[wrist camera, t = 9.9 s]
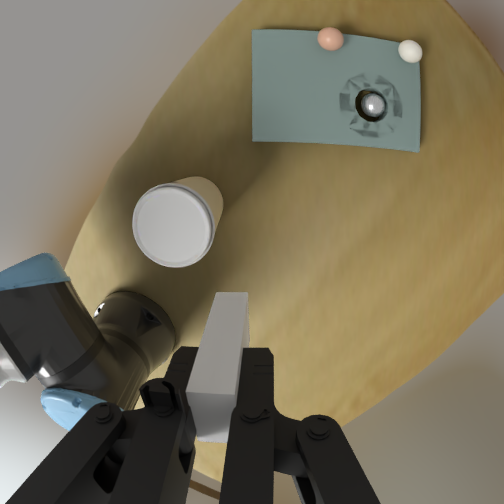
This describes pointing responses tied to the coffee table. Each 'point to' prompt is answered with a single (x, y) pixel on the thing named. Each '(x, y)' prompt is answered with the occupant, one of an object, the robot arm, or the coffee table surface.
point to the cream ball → (410, 51)
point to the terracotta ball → (330, 38)
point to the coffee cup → (178, 221)
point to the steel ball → (372, 105)
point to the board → (332, 91)
